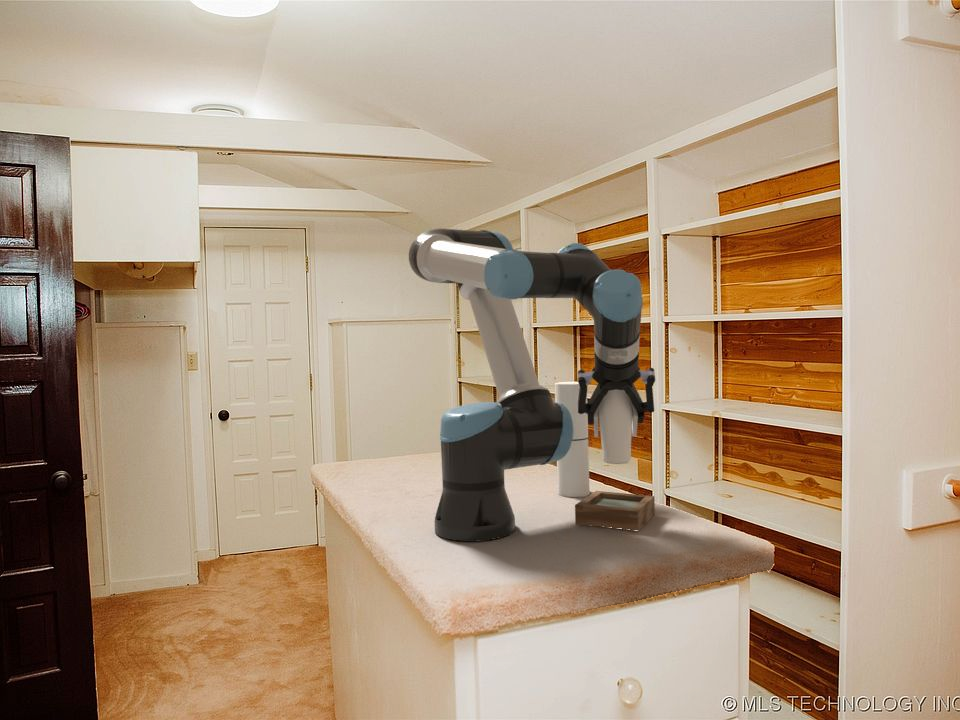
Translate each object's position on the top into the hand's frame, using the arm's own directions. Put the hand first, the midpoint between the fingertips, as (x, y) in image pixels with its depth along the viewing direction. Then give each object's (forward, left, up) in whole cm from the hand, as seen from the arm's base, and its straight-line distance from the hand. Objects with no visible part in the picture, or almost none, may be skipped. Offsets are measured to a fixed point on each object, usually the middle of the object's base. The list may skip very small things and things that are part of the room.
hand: (614, 431), depth 130 cm
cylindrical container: (+13, +14, -17) cm, 26 cm away
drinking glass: (-3, -1, -6) cm, 7 cm away
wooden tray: (-3, -1, -17) cm, 17 cm away
